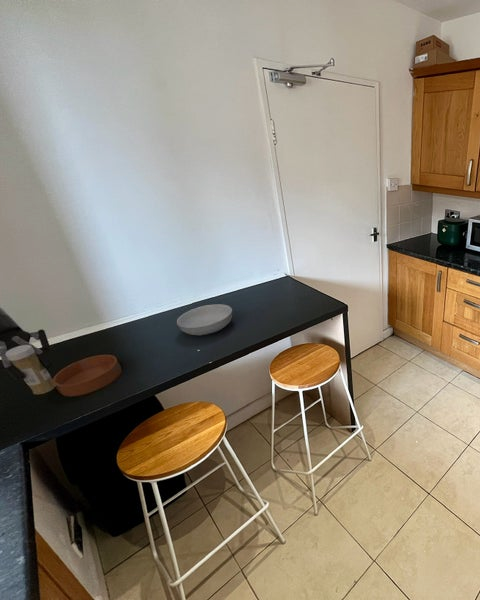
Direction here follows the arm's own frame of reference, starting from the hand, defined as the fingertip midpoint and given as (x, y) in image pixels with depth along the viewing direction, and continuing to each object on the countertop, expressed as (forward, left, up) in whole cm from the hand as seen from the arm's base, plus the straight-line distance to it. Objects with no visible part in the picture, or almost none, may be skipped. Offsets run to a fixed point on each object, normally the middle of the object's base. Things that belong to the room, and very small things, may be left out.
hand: (36, 372), depth 82 cm
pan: (+7, +22, -20) cm, 31 cm away
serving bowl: (+47, +26, -20) cm, 58 cm away
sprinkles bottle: (-1, +2, -7) cm, 7 cm away
